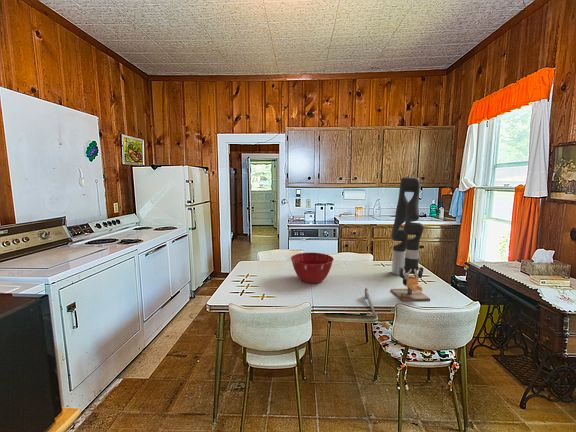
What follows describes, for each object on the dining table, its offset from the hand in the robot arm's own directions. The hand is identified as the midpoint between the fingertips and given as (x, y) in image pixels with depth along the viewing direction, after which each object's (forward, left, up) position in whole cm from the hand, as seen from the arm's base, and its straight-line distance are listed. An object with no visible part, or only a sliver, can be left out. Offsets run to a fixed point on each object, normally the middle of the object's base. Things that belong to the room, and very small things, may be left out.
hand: (410, 284), depth 174 cm
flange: (+3, 0, -1) cm, 3 cm away
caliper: (+10, -28, -7) cm, 31 cm away
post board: (0, 0, -7) cm, 7 cm away
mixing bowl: (-31, -53, -7) cm, 62 cm away
